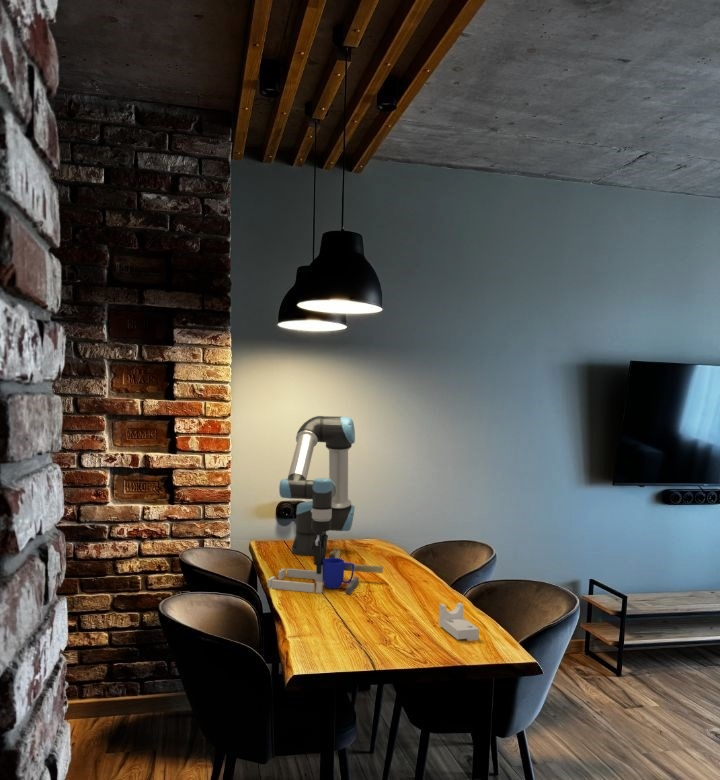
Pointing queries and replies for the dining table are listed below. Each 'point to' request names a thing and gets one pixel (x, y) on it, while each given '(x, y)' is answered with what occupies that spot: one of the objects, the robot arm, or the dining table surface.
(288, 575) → the beige rectangular bars
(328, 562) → the mug
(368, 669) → the dining table surface
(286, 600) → the dining table surface
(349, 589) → the kerb
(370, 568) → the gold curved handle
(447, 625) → the bracket
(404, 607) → the dining table surface
